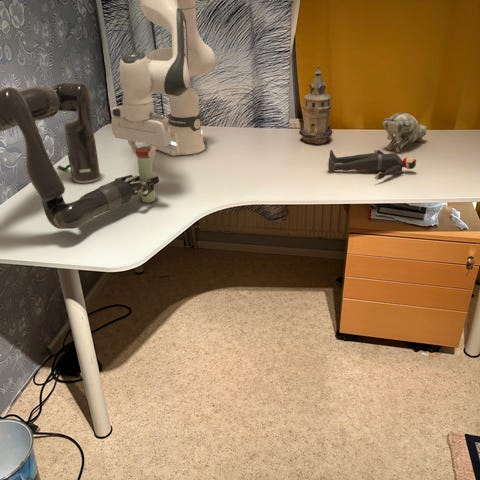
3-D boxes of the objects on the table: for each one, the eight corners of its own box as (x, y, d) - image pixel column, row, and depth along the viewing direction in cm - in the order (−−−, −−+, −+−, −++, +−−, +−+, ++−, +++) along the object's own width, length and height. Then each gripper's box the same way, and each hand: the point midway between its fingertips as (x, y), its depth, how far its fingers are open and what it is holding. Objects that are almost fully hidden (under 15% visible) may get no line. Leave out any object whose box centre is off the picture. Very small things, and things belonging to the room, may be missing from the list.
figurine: (412, 164, 205) (438, 136, 214) (399, 121, 196) (426, 94, 205) (390, 163, 212) (416, 137, 221) (377, 122, 203) (404, 96, 212)
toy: (331, 141, 202) (414, 142, 196) (330, 157, 205) (412, 158, 199) (326, 167, 180) (420, 168, 174) (326, 184, 183) (418, 186, 177)
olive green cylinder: (142, 203, 170) (137, 154, 162) (141, 197, 174) (135, 150, 166) (156, 201, 171) (151, 153, 163) (154, 196, 175) (149, 148, 167)
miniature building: (320, 132, 228) (325, 59, 214) (338, 142, 217) (344, 66, 203) (293, 137, 224) (296, 63, 209) (310, 147, 213) (314, 69, 198)
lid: (154, 154, 165) (154, 149, 164) (142, 158, 162) (142, 153, 161) (144, 150, 168) (144, 145, 167) (132, 154, 165) (132, 149, 164)
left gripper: (126, 189, 154) (168, 171, 166) (94, 178, 161) (136, 161, 173) (129, 213, 157) (170, 193, 169) (97, 201, 165) (138, 183, 177)
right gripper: (173, 112, 156) (177, 157, 163) (119, 104, 165) (125, 147, 172) (160, 118, 151) (164, 164, 158) (105, 109, 160) (111, 153, 167)
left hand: (152, 177), depth 171 cm, fingers closed on olive green cylinder, 4 cm apart
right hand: (143, 155), depth 165 cm, fingers closed on lid, 5 cm apart
